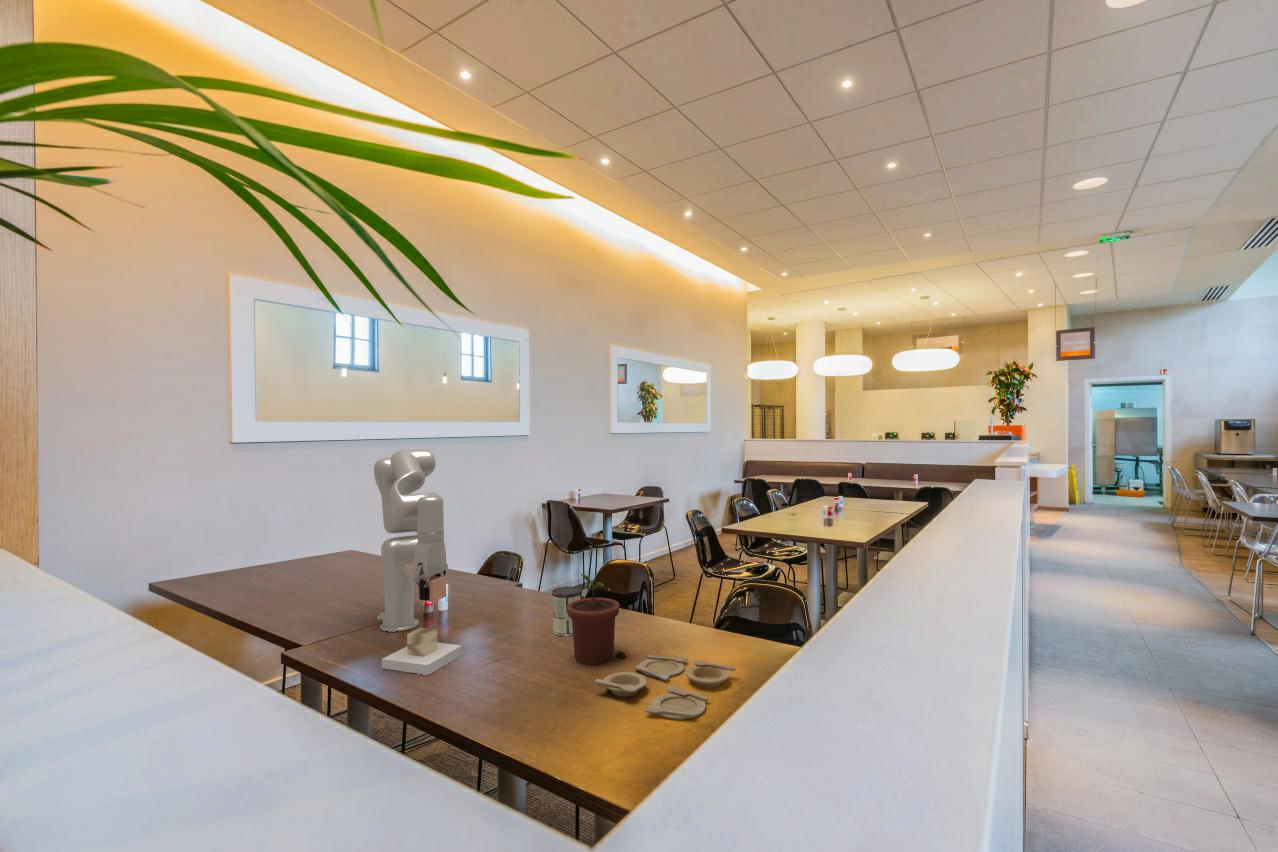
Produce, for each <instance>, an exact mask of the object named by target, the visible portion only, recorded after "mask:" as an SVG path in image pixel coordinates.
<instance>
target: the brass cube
mask: <svg viewBox="0 0 1278 852" xmlns="http://www.w3.org/2000/svg"><path fill="white" fill-rule="evenodd" d="M406 636H407V638H406V641H407V644H406V645H407V646H406V647H407V649H408V655H414V656H422V657H425V656H427V655H429V654H430V653H432V652H434V651H436V650H437V643H438V629H433V628H424V627H420V628H417V629H416V630H413V631H411V632H409V633H407V634H406Z"/></svg>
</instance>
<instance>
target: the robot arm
mask: <svg viewBox="0 0 1278 852" xmlns="http://www.w3.org/2000/svg"><path fill="white" fill-rule="evenodd" d="M436 463H437V462H436V458H435V456H434V453H433V451H431V450H429V449H402V450H398V451H396V452H394V453H393V454H392V455H391V457H384V458H381V459H378V460H377V461H375V463H374V466H373V476H374V480H375V483H376V485H377V488H378V490H379V492H380V496H381V506H382V508H381V509H382V518H383V521H382V522H383V527H384V530H385V531H386V533H388V534H403V533H414V532H415V533H416V534H414V535H405V536H396V537H392V538H388V539H386V540H384V541H383V542H382V544H381V548H380V552H381V559H382V567H383V577H384V578H383V580H384V581H383V582H384V583H383V584H384V611H383V612H380V613H379V614H378V615H377V617H376V618H377V620H379V621H381V620H382V623H381V624H380V627H379V629H380V630H381V631H382V632H386V631H388V632H387V633H397V632H396V631H398V632H404V631H408V630H410V629H411V630H412V629H414V628H416V627H417V626H418V625H419V620H418V618H416V617H415V609H414V608H415V607H414V606H415V605H414V603H415V602H414V601H415V600H414V599H415V598H414V582H415V583H416V585H417V584H418V587H419V599H420V600H429V599H430V596H429V587H428V583H429V578H430V577H431V576H441V577H446V574H447V570H448V568H449V565H448V563H447V553H446V543H445V533H444V532H445V531H444V529H445V528H444V525H445V523H444V521H445V520H444V516H445V515H444V499H443V497H442V496H440V495H439V494H438V493H436V492H425V493H414V492H416V491H418V490H420V489H421V488H422V487H423V486H424V484H425V482H426V478H427V477H429V475H431V474H432V473H433V472H434V471H435V468H436V466H437V465H436ZM411 563H413V573H412V571H411V570H410V568H408V567H407V566H406V565H407V564H411ZM423 578H425V582H424V581H423Z"/></svg>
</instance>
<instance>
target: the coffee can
mask: <svg viewBox="0 0 1278 852" xmlns="http://www.w3.org/2000/svg"><path fill="white" fill-rule="evenodd" d="M551 596H552V600H551V601H552V634H553V633H555V634H558V635H563V636H562V637H573V636H572V635H573V628H572V619H571V618H569V616H568V610H567V605H568V604H569V603H571V602H573V601H576V600H579V599H583V589H582V588H581V587H578V586H560V587H556V588H554V589H552V590H551ZM555 634H554V635H555ZM564 635H565V636H564ZM569 635H571V636H569Z"/></svg>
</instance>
